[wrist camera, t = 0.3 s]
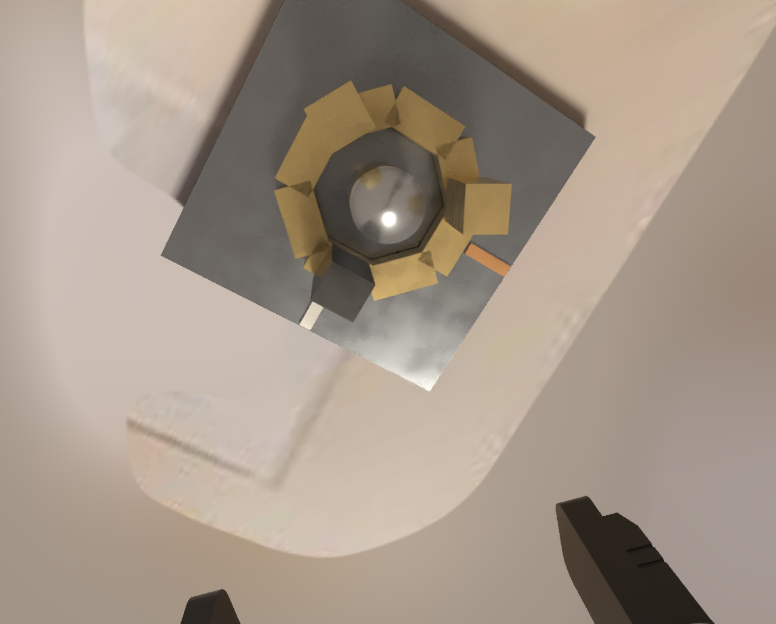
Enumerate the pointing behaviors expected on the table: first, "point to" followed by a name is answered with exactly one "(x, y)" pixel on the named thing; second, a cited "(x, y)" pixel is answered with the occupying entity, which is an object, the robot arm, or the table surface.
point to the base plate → (371, 177)
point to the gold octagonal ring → (447, 233)
